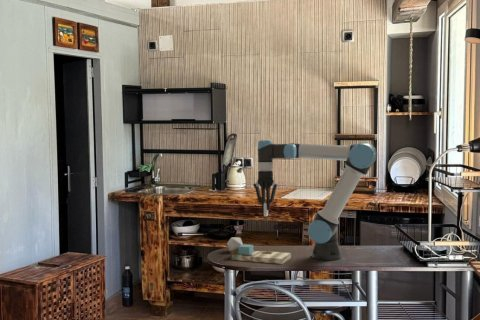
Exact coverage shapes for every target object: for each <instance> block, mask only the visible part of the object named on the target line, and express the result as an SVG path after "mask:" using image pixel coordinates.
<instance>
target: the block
mask: <svg viewBox="0 0 480 320" xmlns="http://www.w3.org/2000/svg"><path fill="white" fill-rule="evenodd" d="M254 247H255V246H254V245H253V244H245V243H244V244H243V245H241V246H239V254H243V255H250V254H252V253H254V251H255V250H254Z"/></svg>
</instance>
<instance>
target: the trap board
mask: <svg viewBox="0 0 480 320" xmlns="http://www.w3.org/2000/svg"><path fill="white" fill-rule="evenodd" d="M240 246H241V245H240ZM229 252H230V260H231V261H232V260H233V261H240V262H241V261H242V262H245V261H246V262H253V263H265V264H267V263H268V264H278V265H279V264H280V265H283V264H284V263H286V262H287V261H289V260H290V259H291V258H292V257H291V256H292V254H291V252H282V251H267V250H266V251H263V250H254V253H252V254H250V255H243V254H239V246H238V247H236V248H234V249H233V250H231V251H229Z"/></svg>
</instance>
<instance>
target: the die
mask: <svg viewBox="0 0 480 320" xmlns="http://www.w3.org/2000/svg"><path fill="white" fill-rule="evenodd" d="M226 245H227V248H228V249H229V250H228V251H229V252H230V251H231V250H233V249H234V248H236V247H238V246H240V245H243V240H242V238H241V237H237V236H235V237H230V239H229V240H228V242H226Z"/></svg>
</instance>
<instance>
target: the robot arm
mask: <svg viewBox="0 0 480 320" xmlns="http://www.w3.org/2000/svg"><path fill="white" fill-rule="evenodd" d="M273 159H275V160H276V159H278V160H282V159H284V160H291V159H292V160H293V159H309V160H310V159H311V160H327V161H328V160H329V161H330V160H331V161H345V162H344V166H345V168H344V169H343V172H342V174H341V176H340V178H339V179H338V181H337V183H336V185H335V186H334V188H333V190H332V192H331V194H330V195H329V198H328V199H327V201H326V203H325V205H324V207H322V209H321V210H318V211H317V212H316V213H315V215H314V218H313V219H312V221H311V222H310V224H309V225H308V228H307V234H308V237H309V239H310V240H311V241H313V242H314V245H313V248H312V250H311V257H312V258H313V259H316V260H322V261H323V260H324V261H333V260H340V259H341V258H342V252H341V251H342V250H341V248H340V246H339V241H338V238H339V237H338V235H339V233H338V232H339V231H338V229H339V224H340V222H339V221H340V220H339V218H340V215H341V214H342V212H343V210H344V209H345V207H346V205H347V204H348V201H349V200H350V198H351V197H352V194H353V193H354V191H355V189H356V188H357V185H358V184H359V182H360V180H361V179H362V177H365V176H366V175H368V172H369V170H370V169H371V167H372V166H373V164H374V163H375V162H376V160H377V159H378V151H377V149H376V147H375V146H374V145H373V144H371V143H368V142H360V143H350V144H349V145H340V144H339V145H337V144H336V145H333V144H313V143H310V144H308V143H294V142H290V143H274V142H273V140H271V139H270V140H269V139H267V140H266V139H265V140H264V139H263V140H262V139H261V140H259V141H258V143H257V169H258V171H257V178H258V179H257V182H255V183H253V187H254V190H255V193H256V198H257V201H258V203H261V210H263V217H268V216H269V211H270V209H271V203H273V202H274V200H275V195H276V191H277V188H278V186H279V184H278V183H275V180H274V171H273V167H274V166H273V165H274V162H273V161H274V160H273ZM271 188H272V190H271Z"/></svg>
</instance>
